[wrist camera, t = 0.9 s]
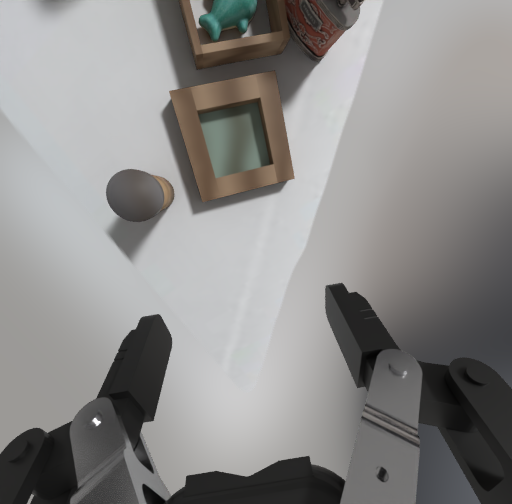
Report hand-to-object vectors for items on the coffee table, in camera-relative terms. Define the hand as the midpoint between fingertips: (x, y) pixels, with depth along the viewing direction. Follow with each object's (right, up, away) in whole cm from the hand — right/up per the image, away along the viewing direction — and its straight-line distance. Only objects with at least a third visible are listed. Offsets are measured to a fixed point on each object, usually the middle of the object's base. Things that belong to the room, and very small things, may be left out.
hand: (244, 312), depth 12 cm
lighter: (+7, +31, +20) cm, 38 cm away
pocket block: (-2, +18, +21) cm, 28 cm away
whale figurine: (-3, +32, +18) cm, 36 cm away
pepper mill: (-13, +11, +21) cm, 27 cm away
